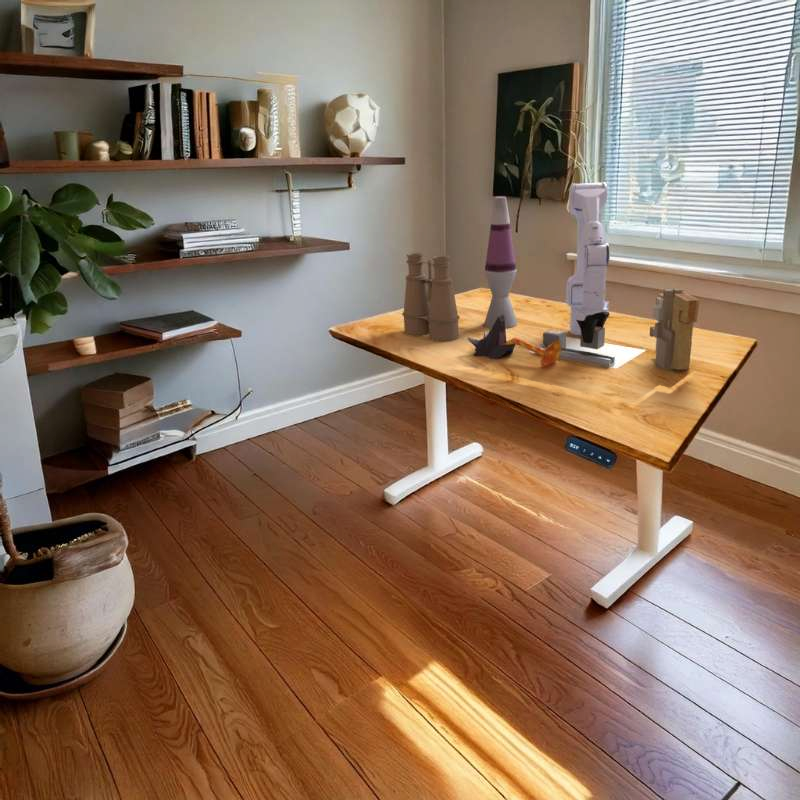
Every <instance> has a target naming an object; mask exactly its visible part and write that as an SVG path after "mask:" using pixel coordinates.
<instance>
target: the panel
mask: <svg viewBox="0 0 800 800" xmlns="http://www.w3.org/2000/svg"><path fill="white" fill-rule="evenodd" d="M580 341H581V338H575V337H569V336H566V348H569V349H575V350H580V351H586V352H591V353H597V354H603V355H608V356H614V357H615V364H614V365H612V366H610V367H609V368H611V369H616V370H617V369H619V368H621V367H622V366H623V365H625V364H627V363H628V362H630V361H631V360H633V359H635V358H637V357H638V356H641V354H643V353H644V352H646V351H647V349H641V348H635V347H630V346H629V347H628V346H623V345H618V344H611V343H606V342H604V346H602V347H601V348H599V349H592V348H586V347H580ZM529 353H532V354H536V355H537V353H535V352H532V351H530V350H529ZM561 359H563V358H561ZM567 360H569V359H567ZM569 361H570V360H569ZM572 361H574V360H572ZM574 362H575V361H574ZM577 362H578V363H580V362H579V361H577ZM582 363H584V362H582ZM588 364H589V365H591V364H590V363H588ZM593 365H595V364H593ZM595 366H596V365H595ZM598 366H599V367H601V366H600V365H598ZM603 367H605V366H603Z"/></svg>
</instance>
